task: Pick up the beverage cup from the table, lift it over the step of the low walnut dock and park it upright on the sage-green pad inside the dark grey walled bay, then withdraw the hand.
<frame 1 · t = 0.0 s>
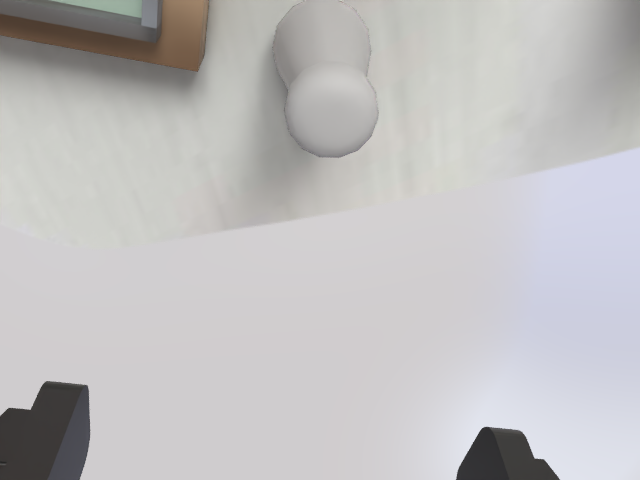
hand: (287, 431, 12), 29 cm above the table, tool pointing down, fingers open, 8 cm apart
salt shaker: (320, 36, 36), on the table
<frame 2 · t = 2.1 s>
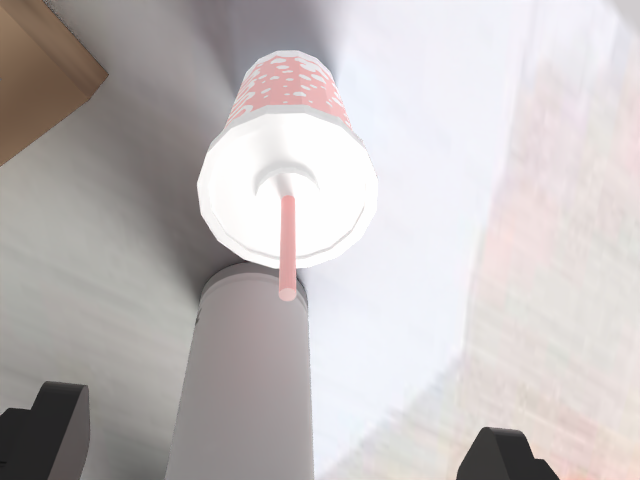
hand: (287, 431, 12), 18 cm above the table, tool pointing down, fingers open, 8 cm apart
beverage cup: (289, 97, 27), on the table
travel mug: (252, 301, 34), on the table
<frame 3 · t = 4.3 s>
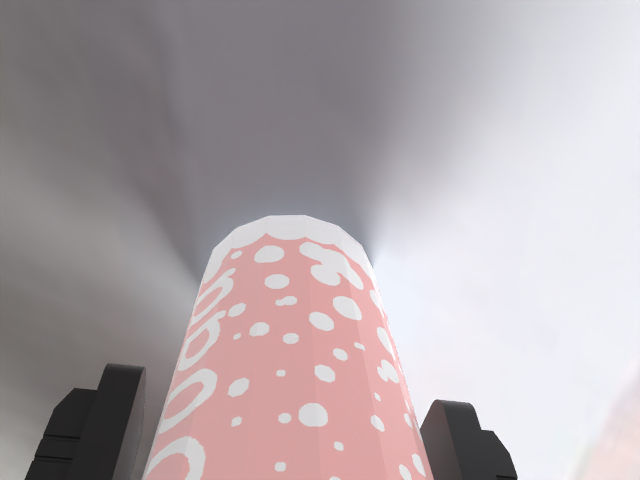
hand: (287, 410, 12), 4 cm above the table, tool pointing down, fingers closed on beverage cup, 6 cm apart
beverage cup: (289, 280, 16), on the table, touching gripper
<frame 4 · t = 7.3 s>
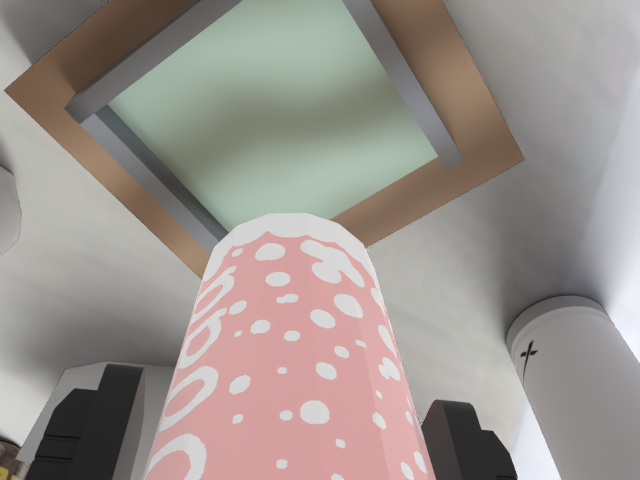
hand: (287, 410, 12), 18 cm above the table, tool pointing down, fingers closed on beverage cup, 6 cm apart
beverage cup: (290, 279, 16), point 13 cm above the table, touching gripper
dock: (280, 100, 27), on the table
toilet tissue: (156, 402, 39), on the table
travel mug: (551, 330, 36), on the table
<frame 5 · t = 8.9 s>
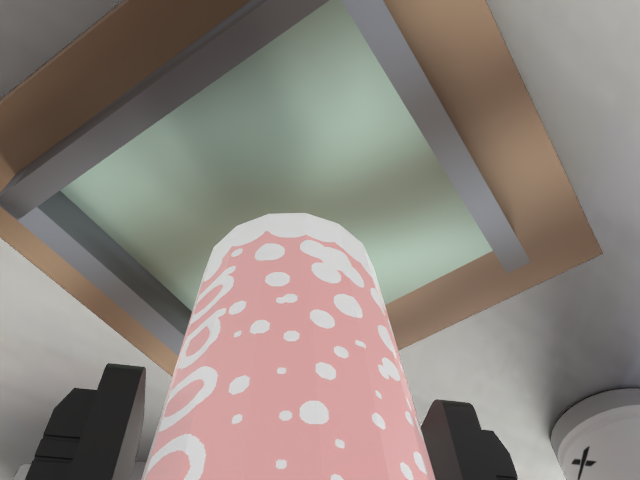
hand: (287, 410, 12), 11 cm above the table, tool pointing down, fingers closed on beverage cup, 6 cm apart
beverage cup: (290, 279, 16), point 6 cm above the table, touching gripper
dock: (287, 170, 21), on the table
travel mug: (604, 423, 30), on the table
when the fingers open (8 cm above the table, at t = 10.4 s): beverage cup drops 1 cm, resting on dock.
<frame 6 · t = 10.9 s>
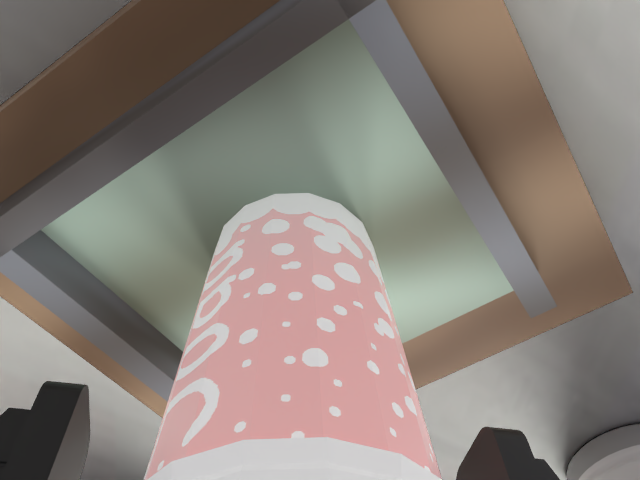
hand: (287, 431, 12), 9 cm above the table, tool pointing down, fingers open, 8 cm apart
beverage cup: (294, 256, 17), point 3 cm above the table, touching dock
dock: (289, 199, 19), on the table
travel mug: (622, 457, 29), on the table
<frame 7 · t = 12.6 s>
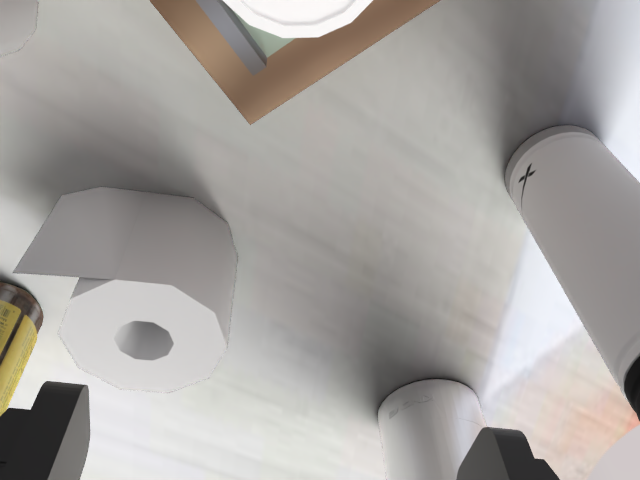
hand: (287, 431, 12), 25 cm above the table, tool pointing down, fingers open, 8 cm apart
sauce bottle: (5, 307, 43), on the table
toilet tissue: (151, 238, 39), on the table
travel mug: (548, 167, 37), on the table
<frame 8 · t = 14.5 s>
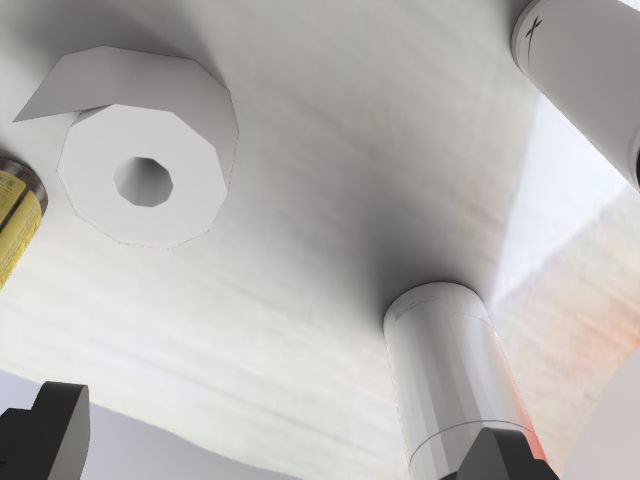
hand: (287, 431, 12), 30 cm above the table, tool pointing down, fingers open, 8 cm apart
sauce bottle: (9, 190, 42), on the table
toilet tissue: (152, 109, 39), on the table
travel mug: (554, 34, 37), on the table
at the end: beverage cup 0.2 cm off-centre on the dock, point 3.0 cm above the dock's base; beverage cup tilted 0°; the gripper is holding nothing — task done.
